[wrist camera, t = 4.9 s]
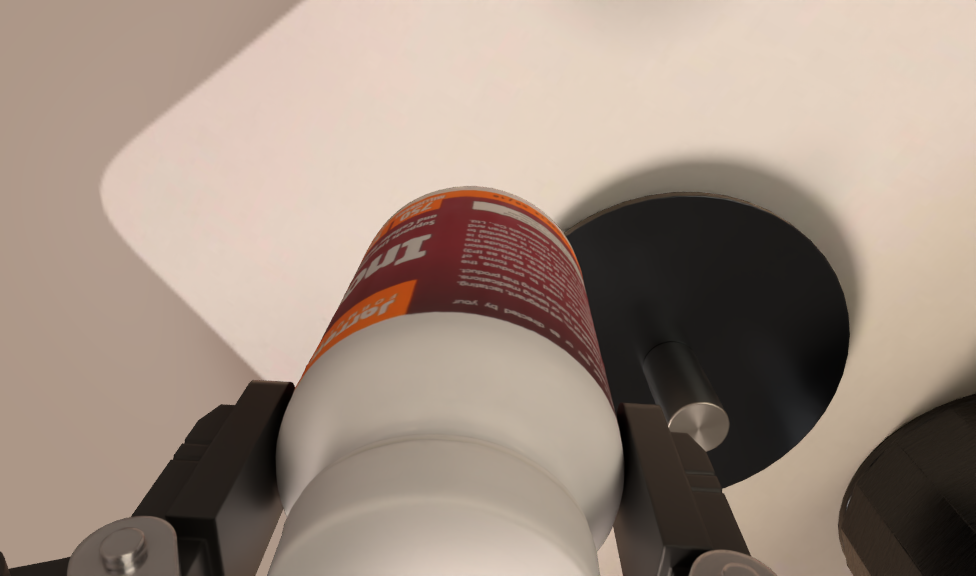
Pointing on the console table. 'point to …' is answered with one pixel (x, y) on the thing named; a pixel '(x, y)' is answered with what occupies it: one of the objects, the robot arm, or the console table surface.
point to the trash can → (916, 499)
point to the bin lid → (715, 321)
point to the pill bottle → (454, 406)
